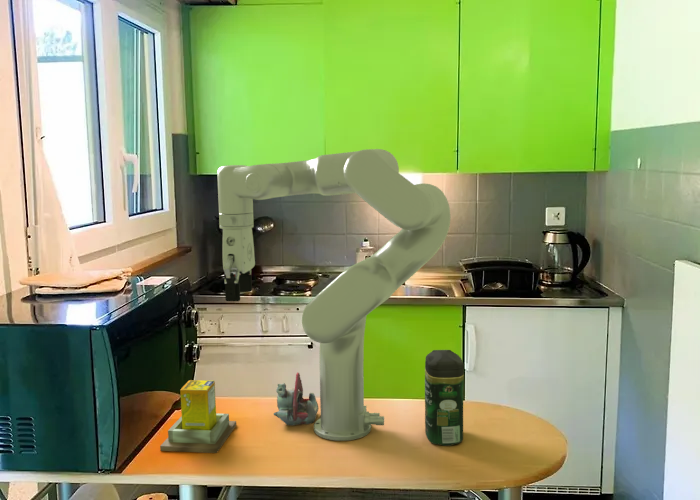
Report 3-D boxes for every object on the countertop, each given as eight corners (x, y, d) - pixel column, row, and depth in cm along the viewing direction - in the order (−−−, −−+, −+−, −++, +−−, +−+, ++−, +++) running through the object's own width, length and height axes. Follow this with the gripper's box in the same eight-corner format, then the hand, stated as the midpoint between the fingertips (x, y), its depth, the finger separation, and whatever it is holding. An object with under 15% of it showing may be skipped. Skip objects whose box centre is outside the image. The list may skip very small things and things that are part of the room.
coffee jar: (422, 428, 150) (422, 346, 148) (458, 427, 150) (459, 346, 148) (427, 447, 141) (428, 360, 138) (466, 447, 141) (467, 360, 138)
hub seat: (236, 425, 153) (235, 410, 153) (216, 453, 140) (216, 436, 139) (184, 423, 155) (184, 408, 154) (160, 450, 141) (159, 434, 140)
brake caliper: (325, 419, 150) (291, 377, 149) (286, 447, 152) (252, 405, 151) (330, 400, 161) (298, 360, 160) (294, 426, 163) (262, 387, 162)
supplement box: (190, 427, 150) (188, 379, 148) (217, 428, 150) (215, 380, 148) (181, 439, 144) (179, 389, 142) (209, 439, 144) (207, 389, 142)
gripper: (242, 225, 143) (244, 305, 146) (262, 216, 160) (264, 288, 163) (207, 225, 144) (210, 304, 147) (231, 216, 161) (234, 288, 164)
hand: (239, 296), depth 155 cm, fingers open, 9 cm apart
